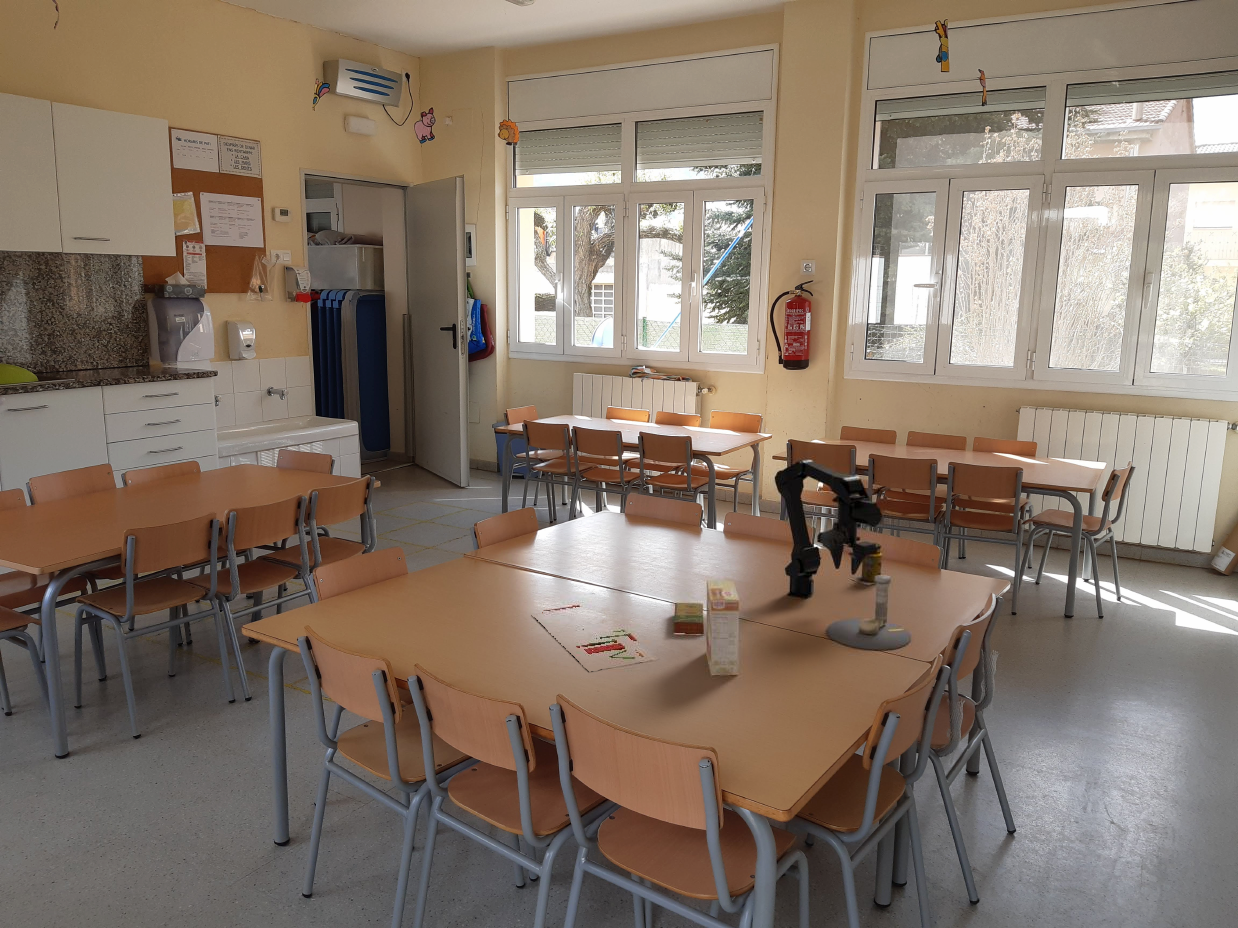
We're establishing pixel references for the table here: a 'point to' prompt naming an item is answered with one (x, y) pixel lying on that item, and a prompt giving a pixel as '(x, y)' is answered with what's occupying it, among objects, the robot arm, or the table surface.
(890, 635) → the dial plate
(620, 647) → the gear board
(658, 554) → the table surface
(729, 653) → the coffeecake box
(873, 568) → the condiment
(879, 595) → the crank handle
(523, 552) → the table surface
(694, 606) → the carton
